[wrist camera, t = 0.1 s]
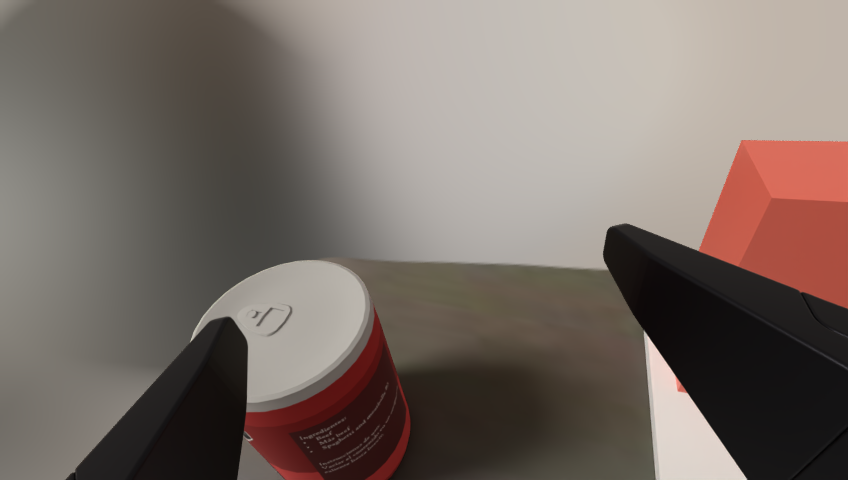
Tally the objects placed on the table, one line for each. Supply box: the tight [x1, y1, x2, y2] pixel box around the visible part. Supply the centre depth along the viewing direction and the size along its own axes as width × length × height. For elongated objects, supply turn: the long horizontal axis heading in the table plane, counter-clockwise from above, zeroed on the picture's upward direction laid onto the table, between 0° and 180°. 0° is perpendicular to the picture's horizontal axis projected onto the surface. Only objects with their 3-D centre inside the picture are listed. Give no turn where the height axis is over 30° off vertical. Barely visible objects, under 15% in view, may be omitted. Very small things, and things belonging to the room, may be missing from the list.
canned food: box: [190, 260, 411, 480], centre depth 20 cm, size 8×8×11 cm
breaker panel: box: [644, 331, 747, 480], centre depth 18 cm, size 18×14×1 cm
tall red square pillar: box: [675, 140, 848, 393], centre depth 19 cm, size 4×4×13 cm
